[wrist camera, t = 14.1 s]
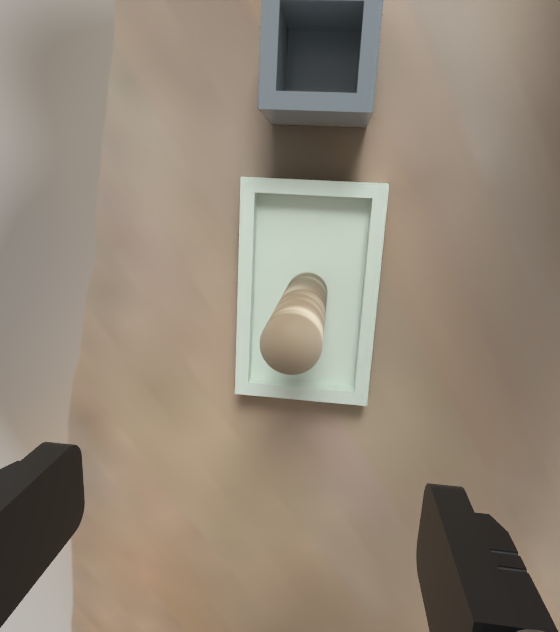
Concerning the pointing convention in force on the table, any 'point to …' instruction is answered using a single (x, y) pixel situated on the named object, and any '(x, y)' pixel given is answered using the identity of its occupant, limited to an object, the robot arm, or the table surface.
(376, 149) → the table surface
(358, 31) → the slate box
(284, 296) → the dowel
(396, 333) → the table surface
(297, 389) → the sage tray
